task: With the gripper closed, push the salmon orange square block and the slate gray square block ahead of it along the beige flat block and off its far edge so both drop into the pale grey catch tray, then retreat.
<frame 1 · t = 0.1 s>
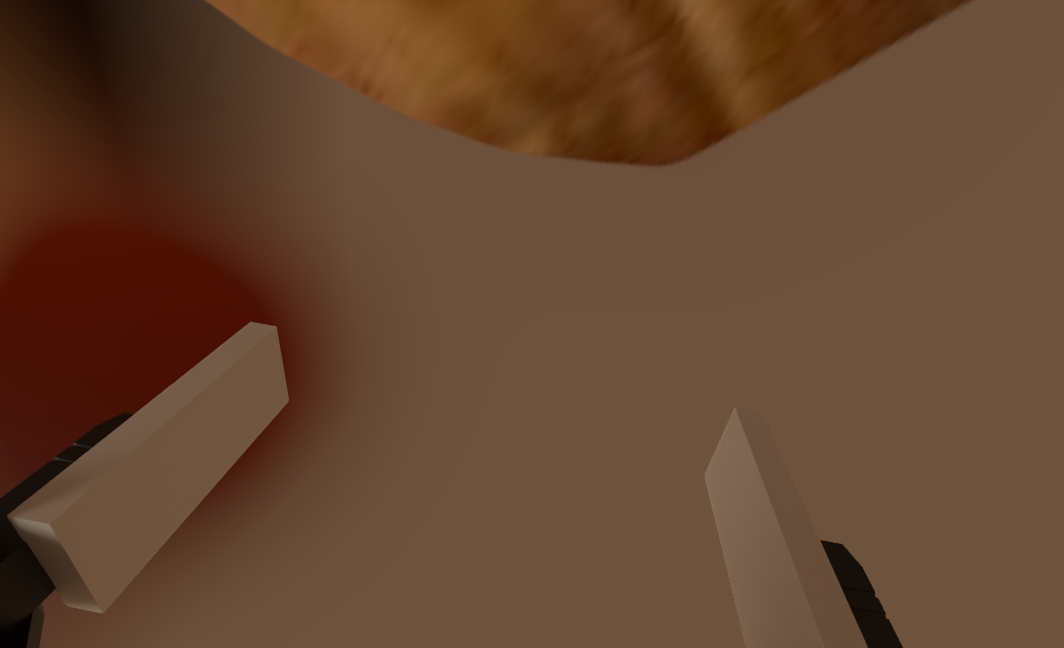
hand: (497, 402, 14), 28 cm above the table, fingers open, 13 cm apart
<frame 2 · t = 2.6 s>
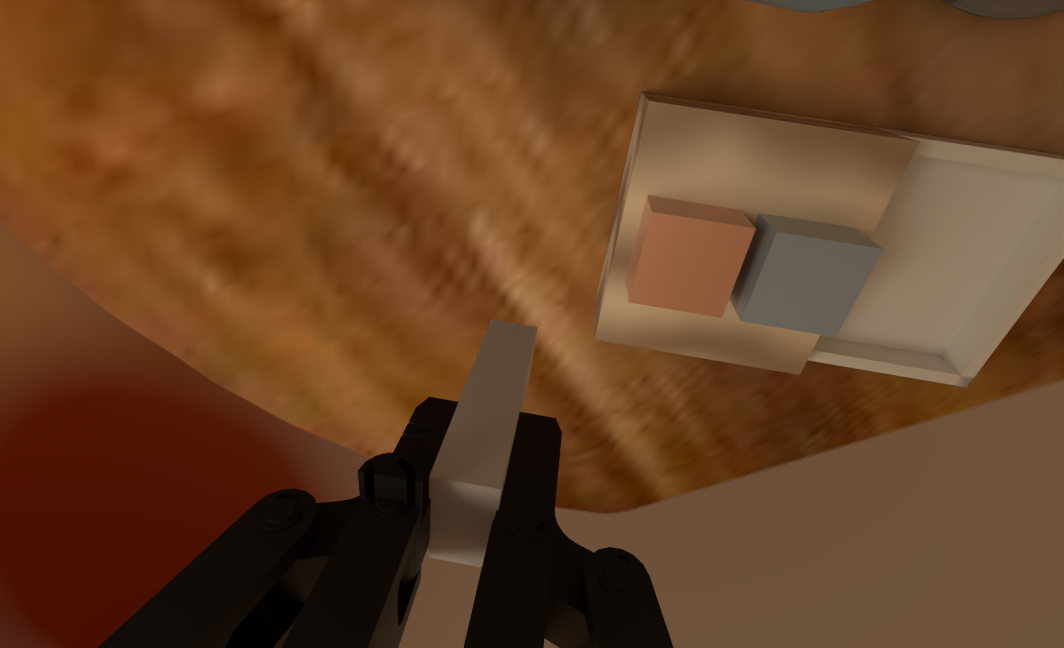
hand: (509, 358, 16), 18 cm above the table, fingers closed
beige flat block: (715, 225, 31), on the table
salmon orange square block: (680, 246, 27), point 5 cm above the table, touching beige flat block
slate gray square block: (787, 263, 27), point 5 cm above the table, touching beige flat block
tray: (908, 256, 31), on the table
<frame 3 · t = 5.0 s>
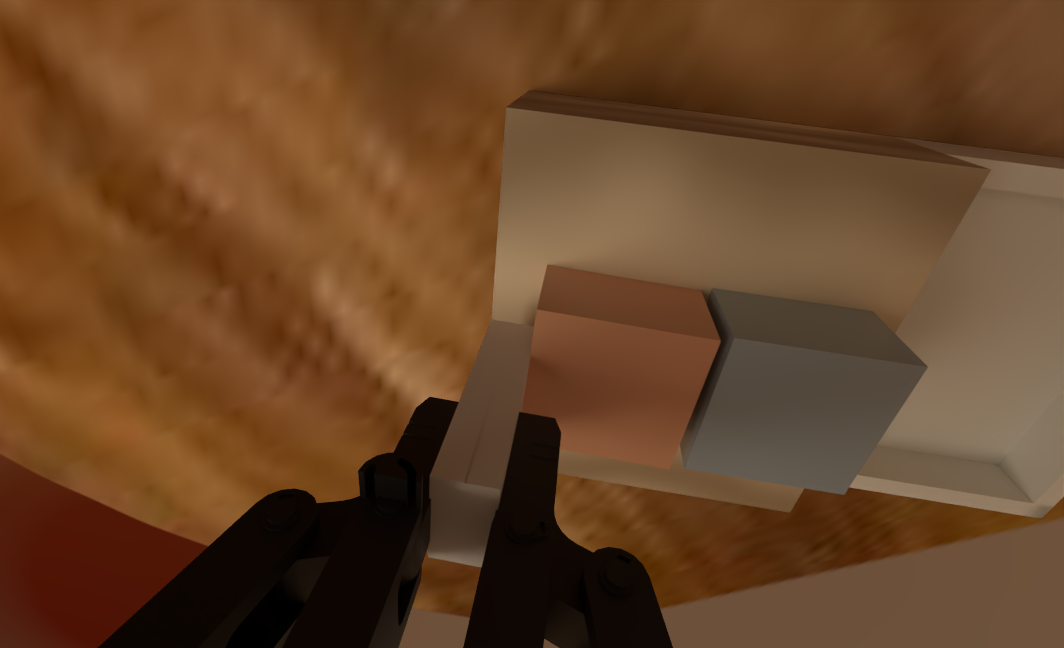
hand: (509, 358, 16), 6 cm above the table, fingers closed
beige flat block: (660, 286, 21), on the table
salmon orange square block: (607, 341, 17), point 5 cm above the table, touching gripper
slate gray square block: (763, 363, 17), point 5 cm above the table, touching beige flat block
tray: (951, 328, 20), on the table
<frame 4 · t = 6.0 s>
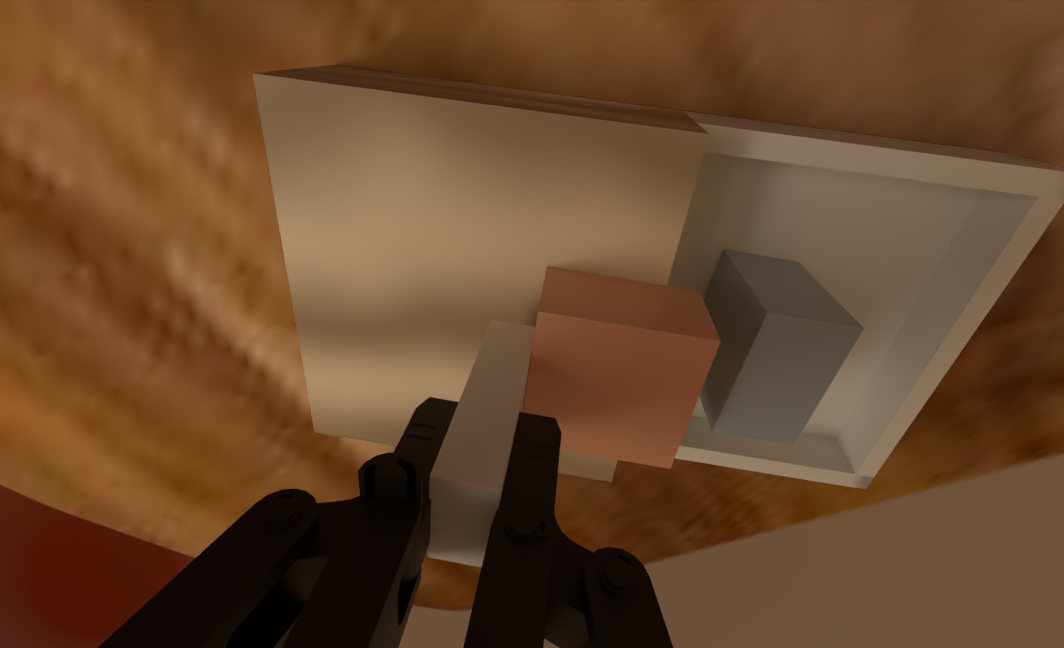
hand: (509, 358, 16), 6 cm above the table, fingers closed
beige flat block: (493, 261, 21), on the table
salmon orange square block: (607, 342, 17), point 5 cm above the table, touching gripper, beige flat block
slate gray square block: (717, 336, 18), point 3 cm above the table, tilted 93°, touching tray
tray: (772, 302, 21), on the table
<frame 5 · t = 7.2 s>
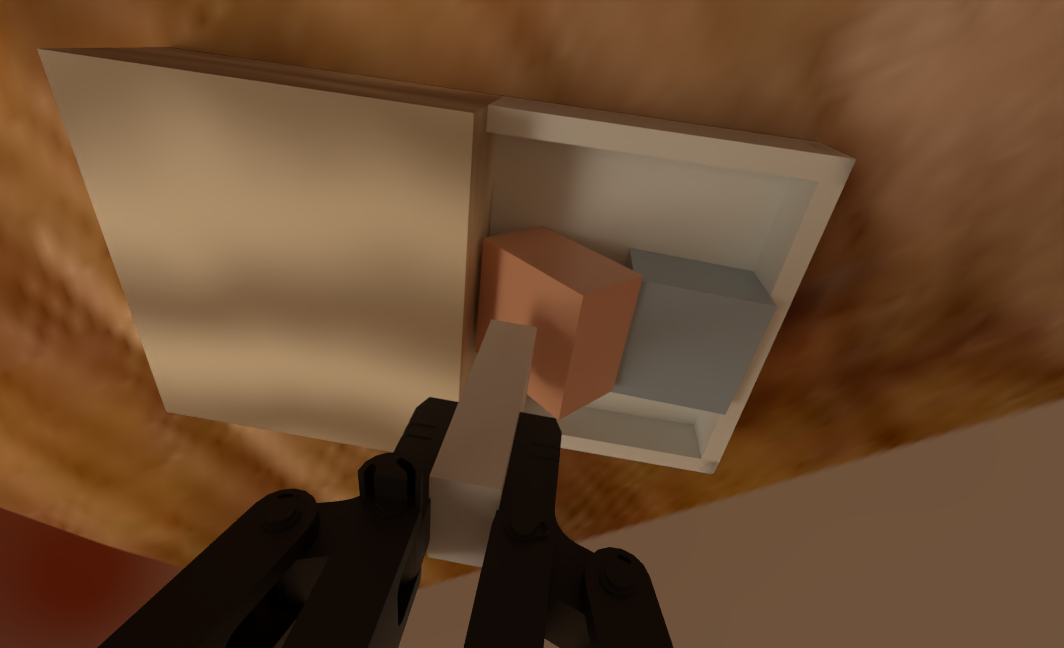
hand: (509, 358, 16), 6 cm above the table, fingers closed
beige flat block: (347, 245, 22), on the table
salmon orange square block: (577, 307, 19), point 2 cm above the table, tilted 42°, touching slate gray square block, tray
slate gray square block: (683, 351, 18), point 4 cm above the table, tilted 180°, touching salmon orange square block, tray
tray: (618, 289, 21), on the table
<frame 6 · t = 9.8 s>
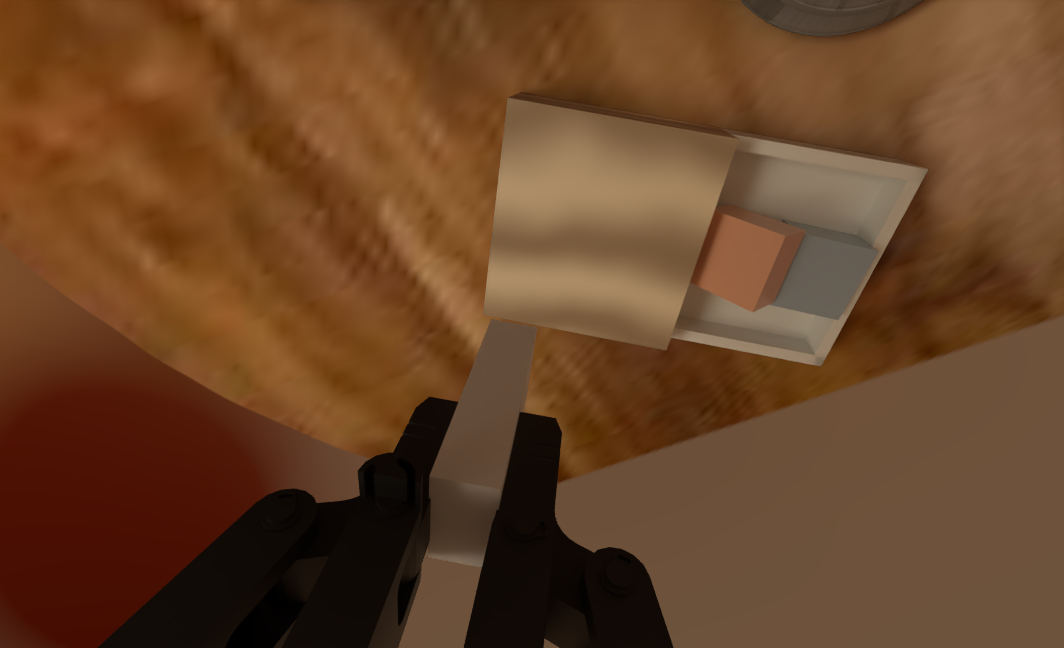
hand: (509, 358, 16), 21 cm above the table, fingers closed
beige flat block: (596, 215, 35), on the table
salmon orange square block: (752, 253, 32), point 2 cm above the table, tilted 42°, touching slate gray square block, tray
slate gray square block: (819, 278, 31), point 4 cm above the table, tilted 180°, touching salmon orange square block, tray
tray: (766, 246, 34), on the table
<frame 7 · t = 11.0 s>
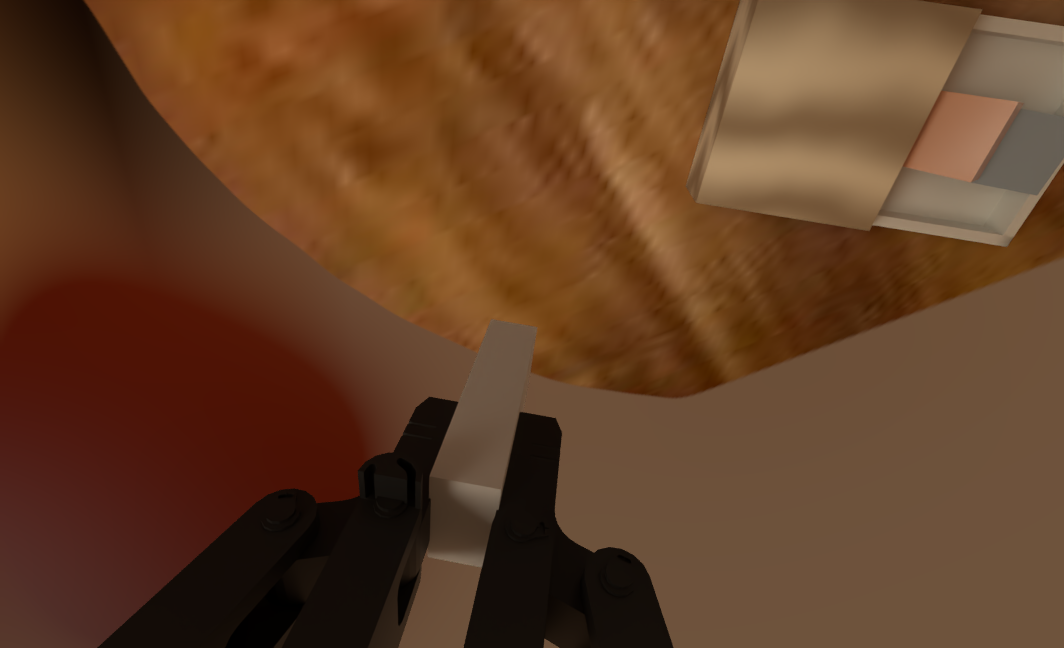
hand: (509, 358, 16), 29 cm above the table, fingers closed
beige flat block: (796, 108, 37), on the table
salmon orange square block: (957, 134, 34), point 2 cm above the table, tilted 42°, touching slate gray square block, tray
slate gray square block: (1026, 153, 33), point 4 cm above the table, tilted 180°, touching salmon orange square block, tray
tray: (959, 133, 37), on the table
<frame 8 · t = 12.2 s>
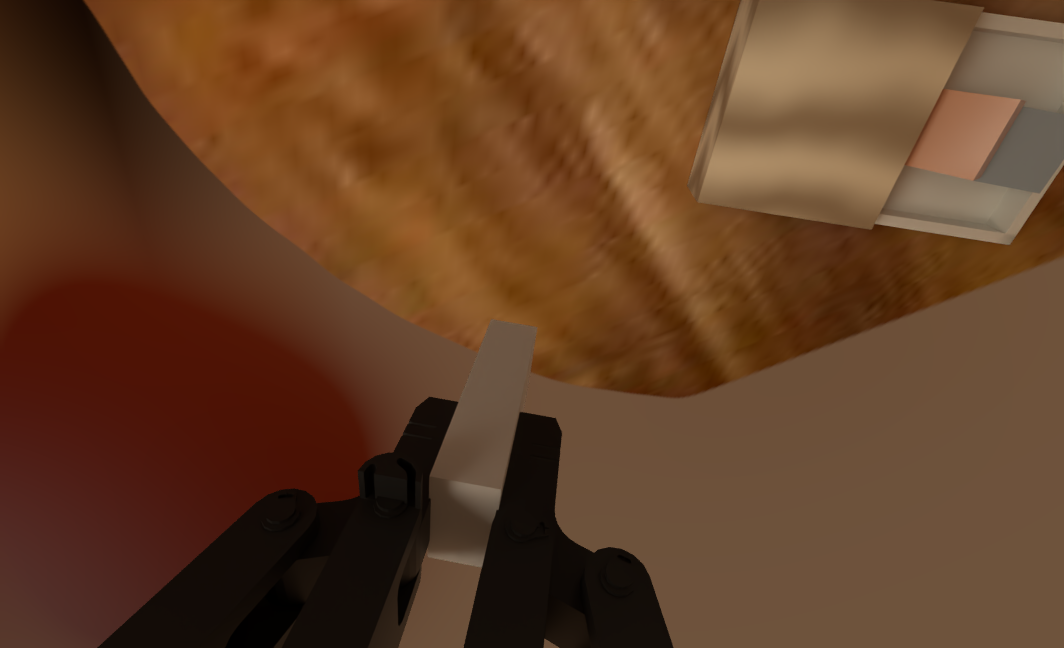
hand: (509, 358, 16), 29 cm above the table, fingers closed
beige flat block: (798, 107, 37), on the table
salmon orange square block: (959, 132, 34), point 2 cm above the table, tilted 42°, touching slate gray square block, tray
slate gray square block: (1028, 151, 33), point 4 cm above the table, tilted 180°, touching salmon orange square block, tray
tray: (961, 132, 37), on the table
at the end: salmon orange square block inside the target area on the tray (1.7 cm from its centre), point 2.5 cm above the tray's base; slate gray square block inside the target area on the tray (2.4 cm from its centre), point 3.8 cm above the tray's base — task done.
